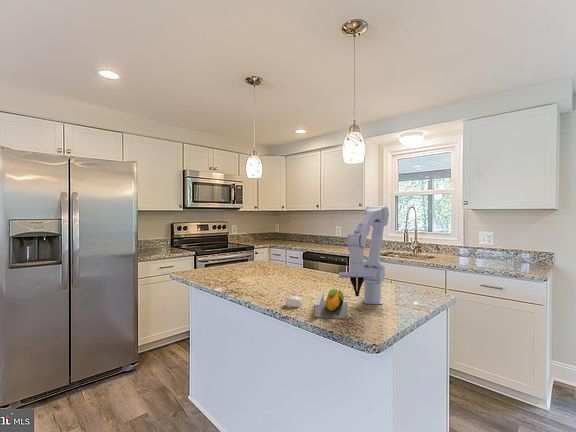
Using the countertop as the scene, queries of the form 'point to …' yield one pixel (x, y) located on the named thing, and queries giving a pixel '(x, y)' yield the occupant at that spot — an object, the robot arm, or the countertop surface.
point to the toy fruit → (334, 300)
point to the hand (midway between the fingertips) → (357, 295)
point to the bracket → (324, 313)
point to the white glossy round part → (293, 301)
